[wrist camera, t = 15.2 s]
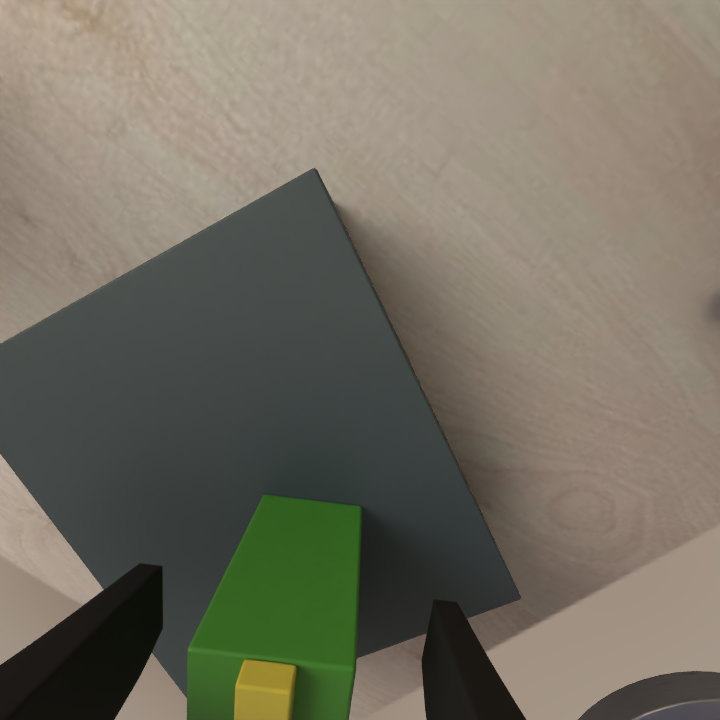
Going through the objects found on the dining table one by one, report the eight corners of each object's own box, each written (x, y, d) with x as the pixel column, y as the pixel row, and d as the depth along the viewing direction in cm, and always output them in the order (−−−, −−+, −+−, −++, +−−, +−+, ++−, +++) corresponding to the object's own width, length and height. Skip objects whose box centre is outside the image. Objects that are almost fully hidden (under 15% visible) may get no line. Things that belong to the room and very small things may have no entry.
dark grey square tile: (485, 521, 16) (522, 599, 12) (236, 620, 18) (199, 716, 14) (331, 198, 13) (314, 165, 9) (52, 350, 15) (-61, 376, 11)
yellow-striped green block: (346, 629, 13) (327, 887, 7) (255, 618, 13) (172, 866, 7) (362, 505, 12) (354, 701, 6) (263, 493, 12) (171, 678, 6)
